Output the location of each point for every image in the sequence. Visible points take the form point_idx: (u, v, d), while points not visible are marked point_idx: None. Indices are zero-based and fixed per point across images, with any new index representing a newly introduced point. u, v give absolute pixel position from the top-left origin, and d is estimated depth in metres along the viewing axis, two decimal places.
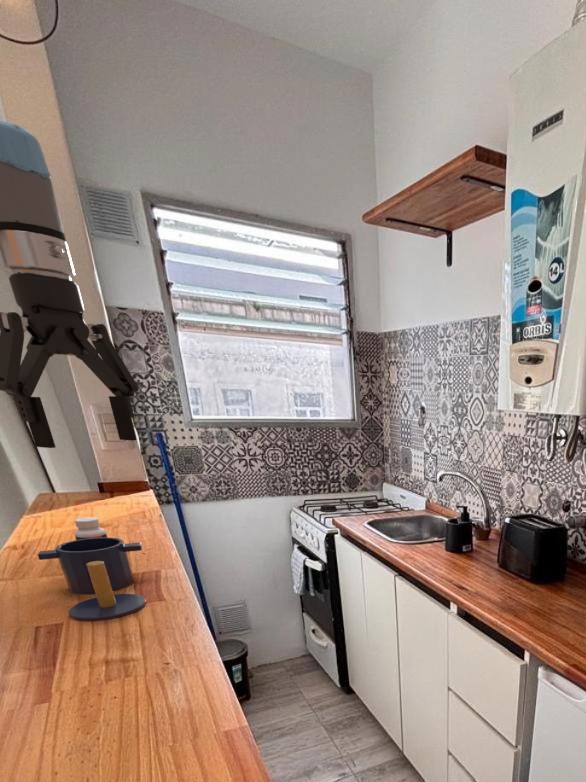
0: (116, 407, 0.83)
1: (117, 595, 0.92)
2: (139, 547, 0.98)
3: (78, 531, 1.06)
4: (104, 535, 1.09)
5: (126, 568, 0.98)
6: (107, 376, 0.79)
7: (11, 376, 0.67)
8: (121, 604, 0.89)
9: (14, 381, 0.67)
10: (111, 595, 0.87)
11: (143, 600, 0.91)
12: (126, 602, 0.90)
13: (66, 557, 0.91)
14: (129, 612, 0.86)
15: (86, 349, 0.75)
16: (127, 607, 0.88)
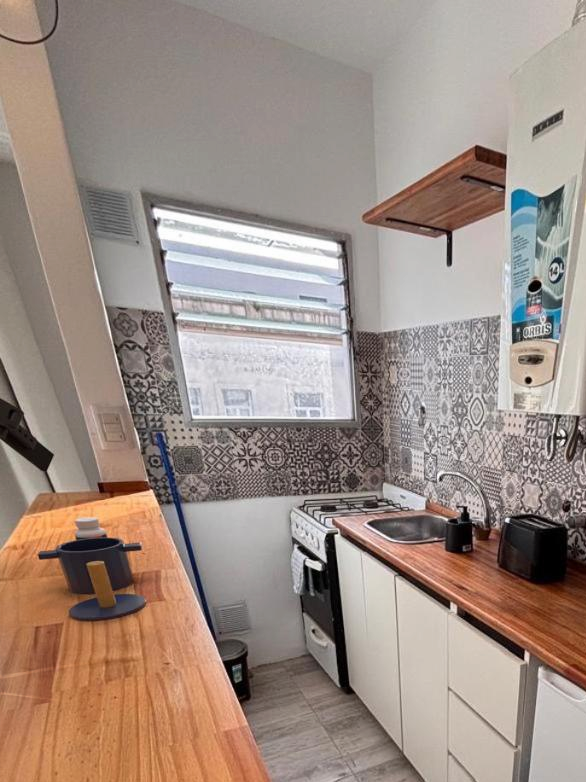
0: None
1: (117, 595, 0.92)
2: (139, 547, 0.98)
3: (78, 531, 1.06)
4: (104, 535, 1.09)
5: (126, 568, 0.98)
6: None
7: None
8: (121, 604, 0.89)
9: None
10: (111, 595, 0.87)
11: (143, 600, 0.91)
12: (126, 602, 0.90)
13: (66, 557, 0.91)
14: (129, 612, 0.86)
15: None
16: (127, 607, 0.88)
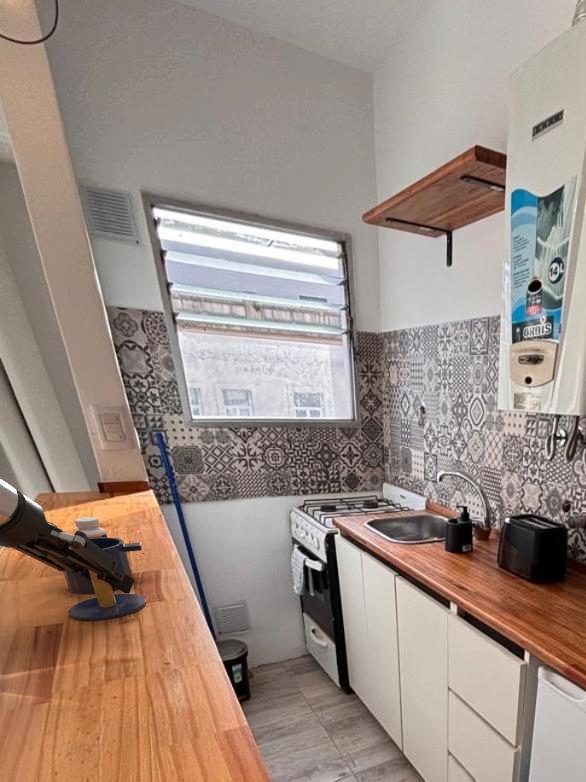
0: None
1: (117, 595, 0.92)
2: (139, 547, 0.98)
3: None
4: (104, 535, 1.09)
5: (126, 568, 0.98)
6: None
7: (52, 566, 0.83)
8: (121, 604, 0.89)
9: (57, 568, 0.83)
10: (111, 595, 0.87)
11: (143, 600, 0.91)
12: (126, 602, 0.90)
13: None
14: (129, 612, 0.86)
15: (51, 552, 0.76)
16: (127, 607, 0.88)
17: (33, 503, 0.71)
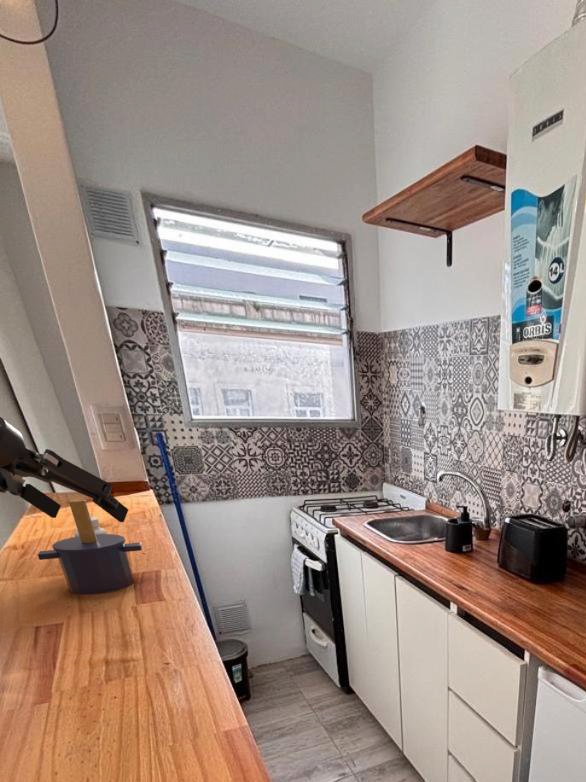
0: None
1: (99, 535, 0.99)
2: (139, 547, 0.98)
3: None
4: None
5: (126, 568, 0.98)
6: None
7: None
8: (102, 541, 0.95)
9: (0, 489, 0.87)
10: (92, 532, 0.94)
11: (122, 538, 0.97)
12: (106, 540, 0.96)
13: (66, 557, 0.91)
14: (109, 547, 0.93)
15: (37, 477, 0.82)
16: (107, 543, 0.94)
17: (13, 428, 0.77)
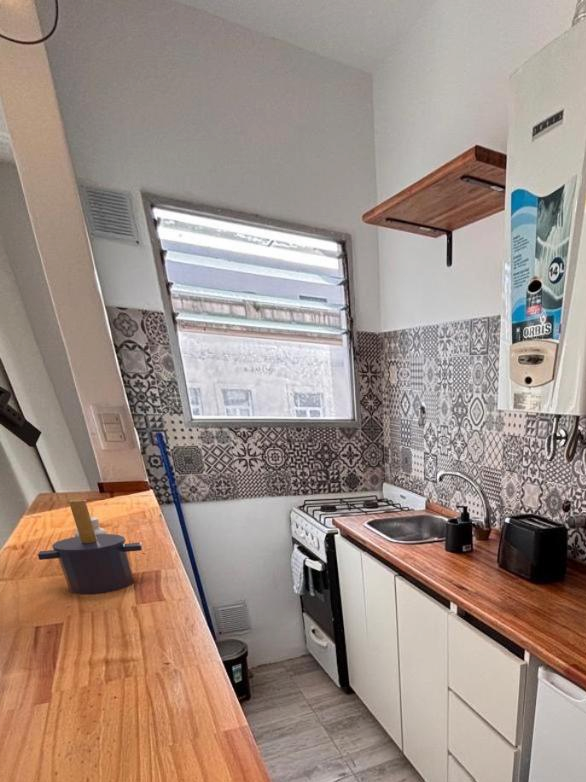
0: None
1: (99, 535, 0.99)
2: (139, 547, 0.98)
3: None
4: None
5: (126, 568, 0.98)
6: None
7: None
8: (102, 541, 0.95)
9: None
10: (92, 532, 0.94)
11: (122, 538, 0.97)
12: (106, 540, 0.96)
13: (66, 557, 0.91)
14: (109, 547, 0.93)
15: None
16: (107, 543, 0.94)
17: None
